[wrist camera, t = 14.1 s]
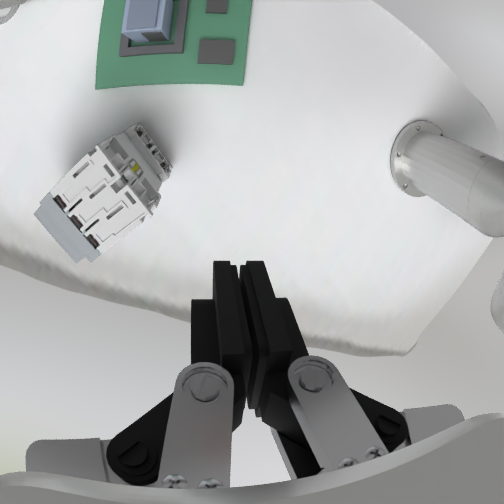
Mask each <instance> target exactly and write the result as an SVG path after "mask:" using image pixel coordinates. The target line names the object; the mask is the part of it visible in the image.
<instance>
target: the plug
mask: <svg viewBox="0 0 504 504" xmlns="http://www.w3.org/2000/svg"><path fill="white" fill-rule="evenodd" d="M173 13H174V2H173V0H126V4H125V10H124V17H123V24H122V32H121V33H122V34H124V35H125V36H127V37H128V38H130V39H131V40H133V41H134V42H136V43H146V42H162V41H170V37H171V29H172V20H173Z"/></svg>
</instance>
